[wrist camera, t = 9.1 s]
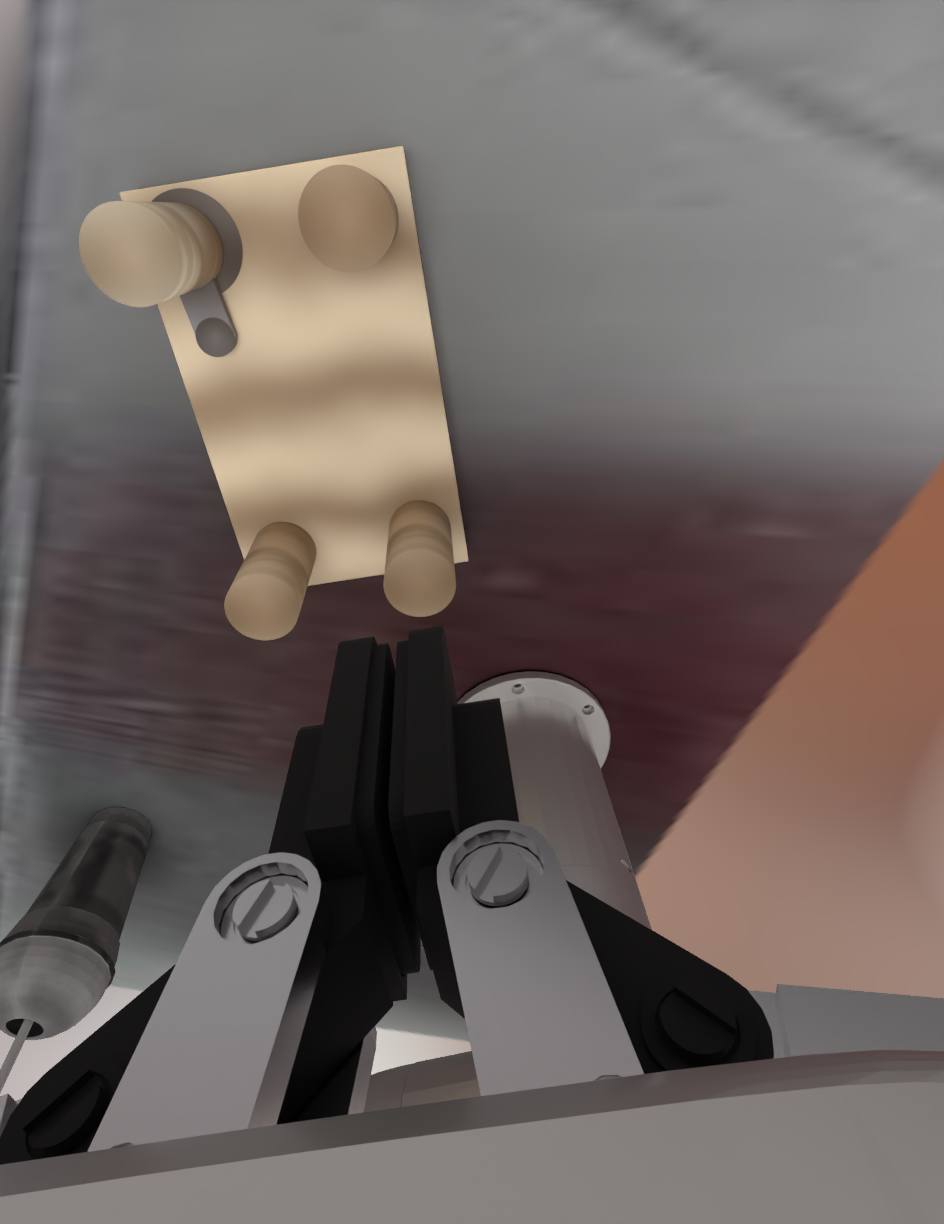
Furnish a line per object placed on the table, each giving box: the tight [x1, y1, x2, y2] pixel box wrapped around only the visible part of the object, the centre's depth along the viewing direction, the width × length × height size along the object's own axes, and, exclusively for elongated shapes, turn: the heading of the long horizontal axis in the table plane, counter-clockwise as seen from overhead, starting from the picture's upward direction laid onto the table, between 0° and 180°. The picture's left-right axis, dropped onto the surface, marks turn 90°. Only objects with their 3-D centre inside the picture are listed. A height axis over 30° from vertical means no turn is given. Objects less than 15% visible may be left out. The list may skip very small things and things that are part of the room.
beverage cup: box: [0, 807, 152, 1092], centre depth 46 cm, size 7×7×20 cm
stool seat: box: [120, 146, 468, 640], centre depth 35 cm, size 21×13×10 cm, turn 8°
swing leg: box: [79, 201, 237, 357], centre depth 30 cm, size 7×4×7 cm, turn 13°
